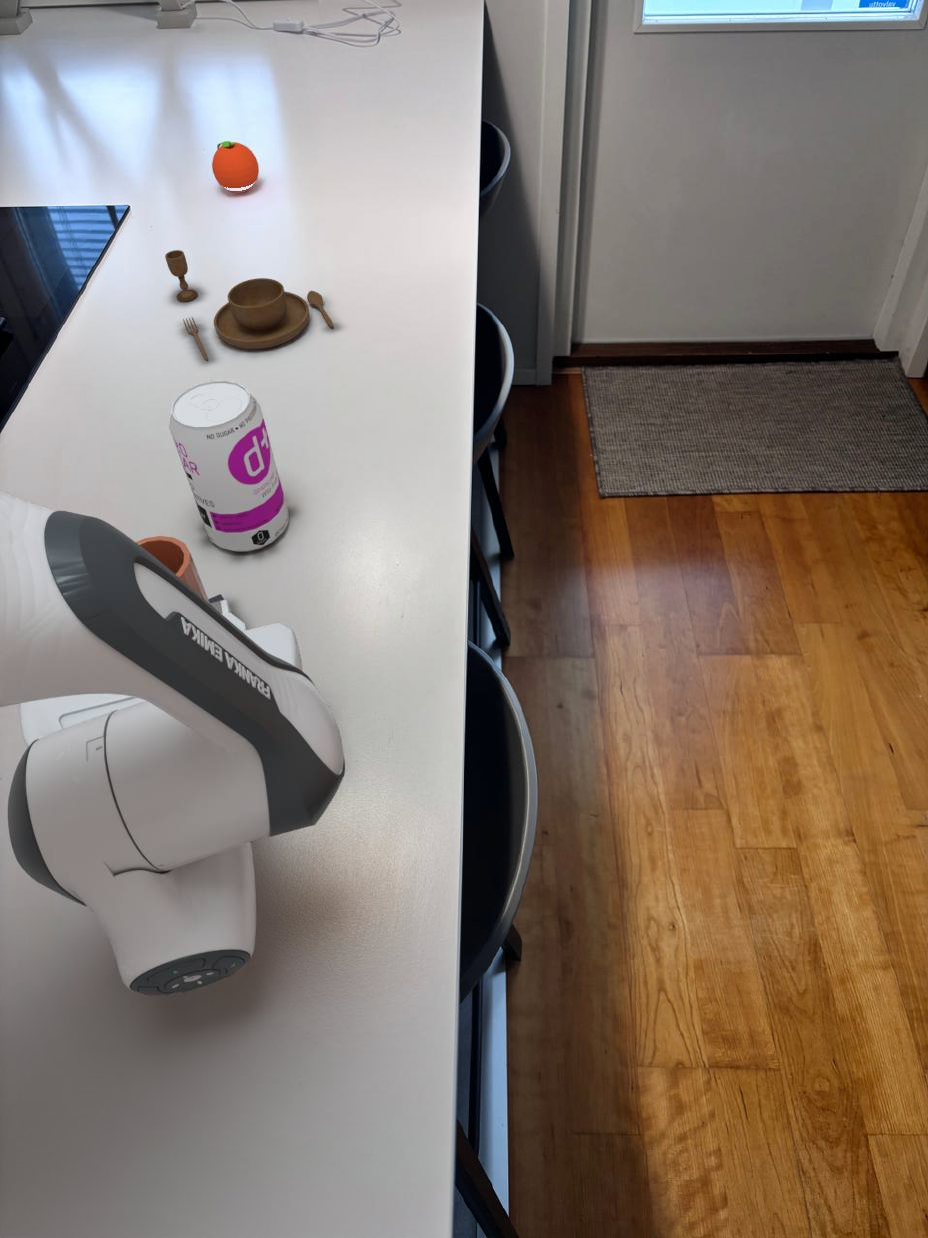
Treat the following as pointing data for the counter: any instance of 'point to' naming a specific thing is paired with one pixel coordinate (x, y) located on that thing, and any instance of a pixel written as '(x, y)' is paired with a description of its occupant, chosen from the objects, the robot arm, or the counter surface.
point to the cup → (175, 560)
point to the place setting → (251, 310)
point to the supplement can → (229, 464)
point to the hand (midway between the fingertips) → (160, 620)
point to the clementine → (234, 165)
